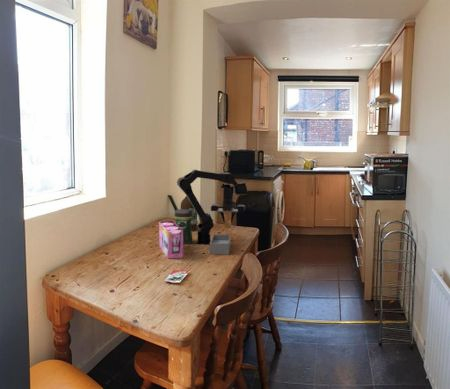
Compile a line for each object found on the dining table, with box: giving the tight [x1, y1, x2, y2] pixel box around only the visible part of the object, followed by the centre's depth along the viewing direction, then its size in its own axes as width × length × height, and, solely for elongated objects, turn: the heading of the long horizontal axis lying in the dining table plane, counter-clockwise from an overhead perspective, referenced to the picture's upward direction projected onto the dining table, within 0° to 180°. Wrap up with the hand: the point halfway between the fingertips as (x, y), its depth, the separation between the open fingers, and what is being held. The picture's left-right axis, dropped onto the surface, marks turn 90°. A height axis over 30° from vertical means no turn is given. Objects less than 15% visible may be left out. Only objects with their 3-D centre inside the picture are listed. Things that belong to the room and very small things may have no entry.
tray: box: [209, 234, 231, 255], centre depth 221 cm, size 10×18×6 cm, turn 177°
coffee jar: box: [173, 208, 193, 245], centre depth 232 cm, size 10×8×19 cm
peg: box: [224, 211, 232, 229], centre depth 236 cm, size 4×4×9 cm
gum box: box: [158, 220, 184, 259], centre depth 215 cm, size 24×8×14 cm, turn 20°
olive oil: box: [180, 195, 198, 232], centre depth 261 cm, size 11×11×25 cm
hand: (227, 223), depth 237 cm, fingers closed on peg, 3 cm apart
